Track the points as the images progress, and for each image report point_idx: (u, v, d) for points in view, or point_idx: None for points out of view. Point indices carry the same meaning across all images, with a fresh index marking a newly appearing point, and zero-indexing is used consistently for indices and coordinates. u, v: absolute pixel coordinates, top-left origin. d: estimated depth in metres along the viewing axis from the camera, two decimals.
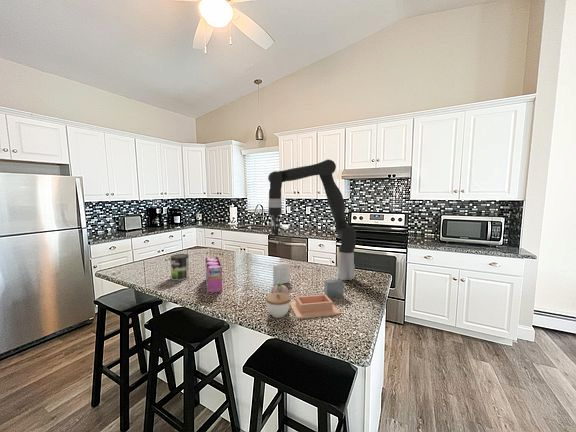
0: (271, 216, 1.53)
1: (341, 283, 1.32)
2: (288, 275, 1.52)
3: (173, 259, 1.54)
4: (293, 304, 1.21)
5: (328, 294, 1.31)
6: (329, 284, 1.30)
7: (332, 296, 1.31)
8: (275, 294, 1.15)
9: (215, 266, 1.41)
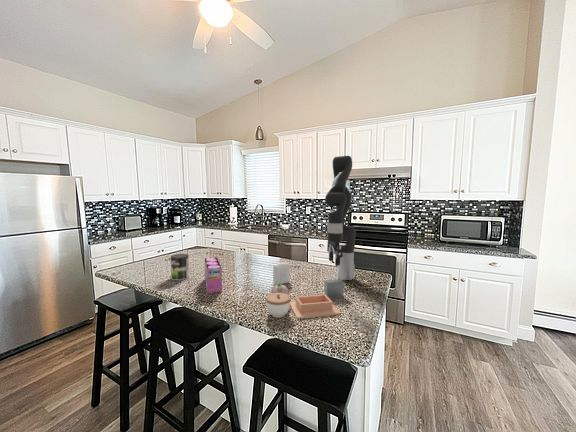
0: (328, 241, 1.37)
1: (341, 283, 1.32)
2: (288, 275, 1.52)
3: (173, 259, 1.54)
4: (293, 304, 1.21)
5: (328, 294, 1.31)
6: (329, 284, 1.30)
7: (332, 296, 1.31)
8: (275, 294, 1.15)
9: (215, 266, 1.41)
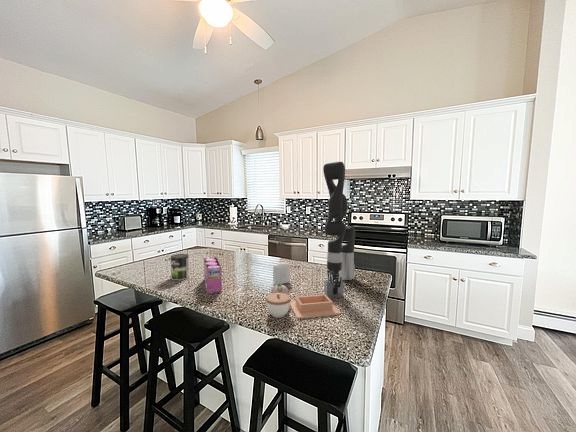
0: (327, 270, 1.38)
1: (341, 283, 1.32)
2: (288, 275, 1.52)
3: (173, 259, 1.54)
4: (293, 304, 1.21)
5: (328, 294, 1.31)
6: (329, 284, 1.30)
7: (332, 296, 1.31)
8: (275, 294, 1.15)
9: (214, 266, 1.40)
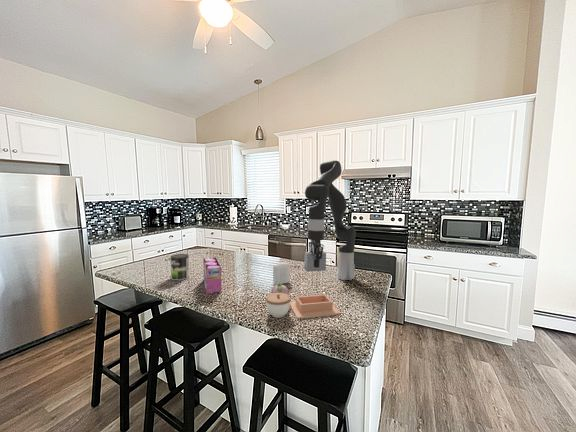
0: (309, 242, 1.22)
1: (323, 255, 1.16)
2: (288, 275, 1.52)
3: (173, 259, 1.54)
4: (293, 304, 1.21)
5: (308, 267, 1.15)
6: (309, 255, 1.15)
7: (313, 269, 1.16)
8: (275, 294, 1.15)
9: (214, 266, 1.40)
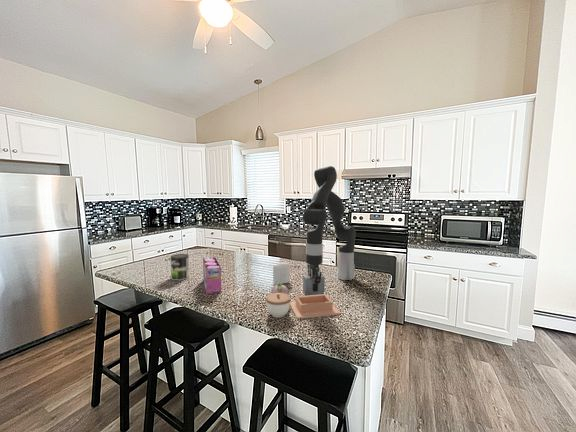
0: (307, 265, 1.22)
1: (322, 278, 1.16)
2: (288, 275, 1.52)
3: (173, 259, 1.54)
4: (293, 304, 1.21)
5: (307, 291, 1.15)
6: (308, 279, 1.15)
7: (311, 293, 1.16)
8: (275, 294, 1.15)
9: (214, 266, 1.40)
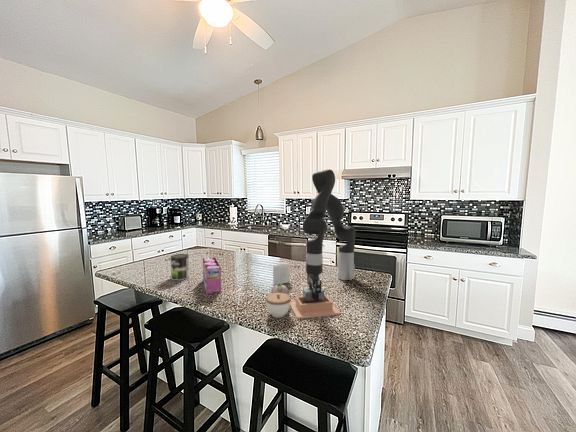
0: (307, 272, 1.23)
1: (321, 292, 1.17)
2: (288, 275, 1.52)
3: (173, 259, 1.54)
4: (293, 304, 1.21)
5: None
6: (308, 293, 1.16)
7: None
8: (275, 294, 1.15)
9: (214, 266, 1.40)
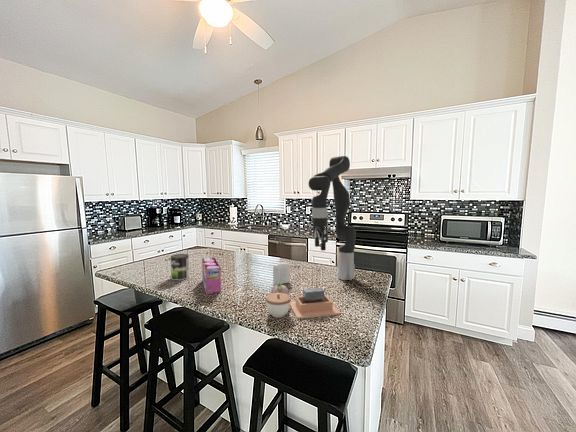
0: (313, 227, 1.34)
1: (321, 292, 1.17)
2: (288, 275, 1.52)
3: (173, 259, 1.54)
4: (293, 304, 1.21)
5: None
6: (308, 293, 1.16)
7: None
8: (275, 294, 1.15)
9: (213, 266, 1.40)
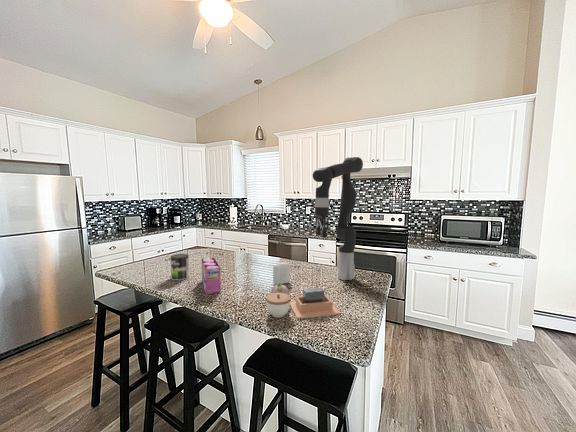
0: (316, 216, 1.43)
1: (321, 292, 1.17)
2: (288, 275, 1.52)
3: (173, 259, 1.54)
4: (293, 304, 1.21)
5: None
6: (308, 293, 1.16)
7: None
8: (275, 294, 1.15)
9: (213, 266, 1.40)
